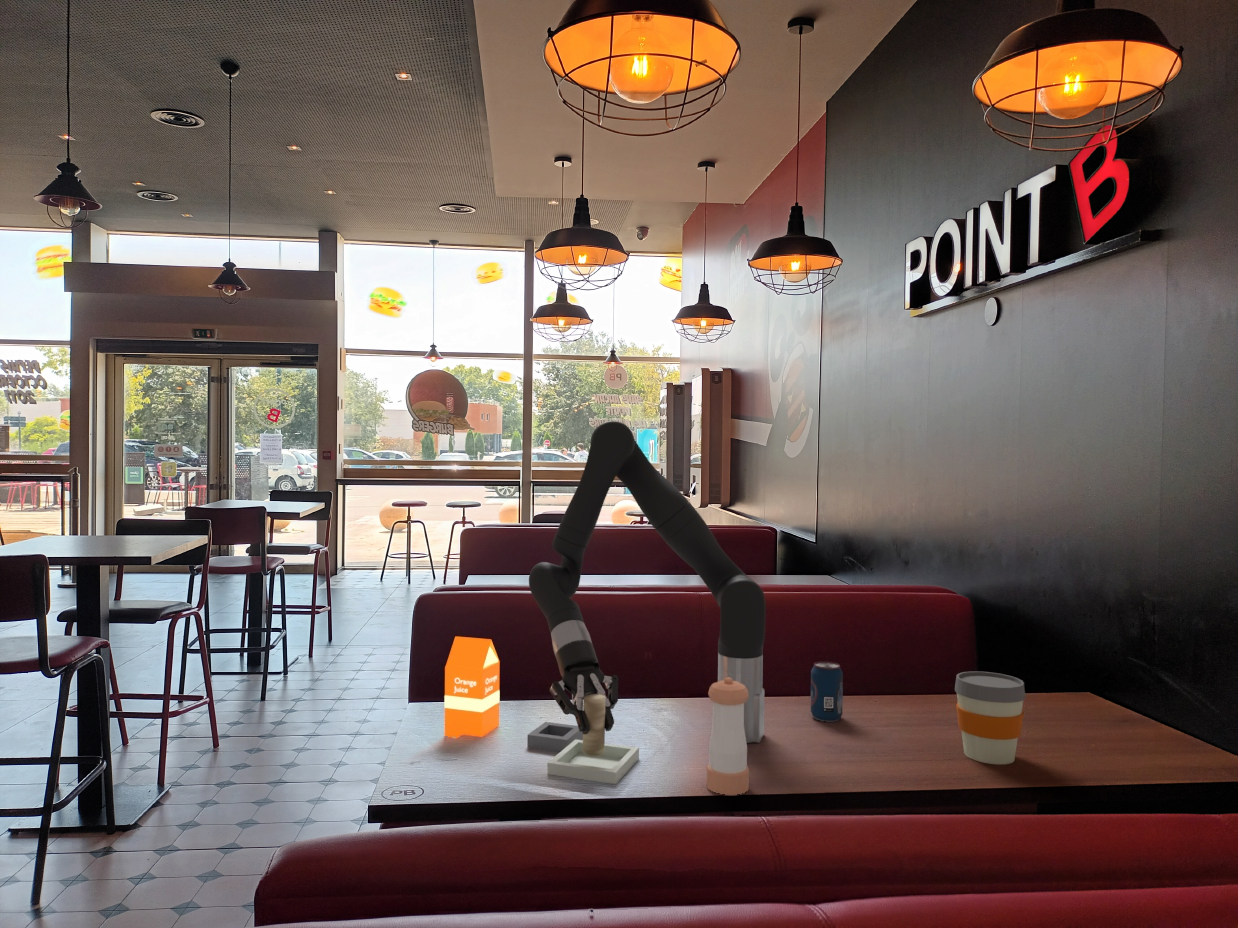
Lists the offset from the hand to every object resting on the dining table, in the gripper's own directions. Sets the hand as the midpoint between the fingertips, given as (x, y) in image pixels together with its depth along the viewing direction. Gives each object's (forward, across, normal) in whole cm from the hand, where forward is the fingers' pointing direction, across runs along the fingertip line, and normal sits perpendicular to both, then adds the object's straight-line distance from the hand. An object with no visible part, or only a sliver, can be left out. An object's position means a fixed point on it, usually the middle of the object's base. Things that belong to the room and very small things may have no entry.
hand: (598, 729), depth 144 cm
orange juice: (-16, -15, +28) cm, 36 cm away
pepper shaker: (+16, +18, -4) cm, 25 cm away
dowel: (+2, 0, +5) cm, 5 cm away
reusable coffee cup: (+22, +74, -11) cm, 78 cm away
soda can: (-1, +60, +12) cm, 61 cm away
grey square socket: (-5, -2, +17) cm, 18 cm away
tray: (+4, 0, +7) cm, 8 cm away
